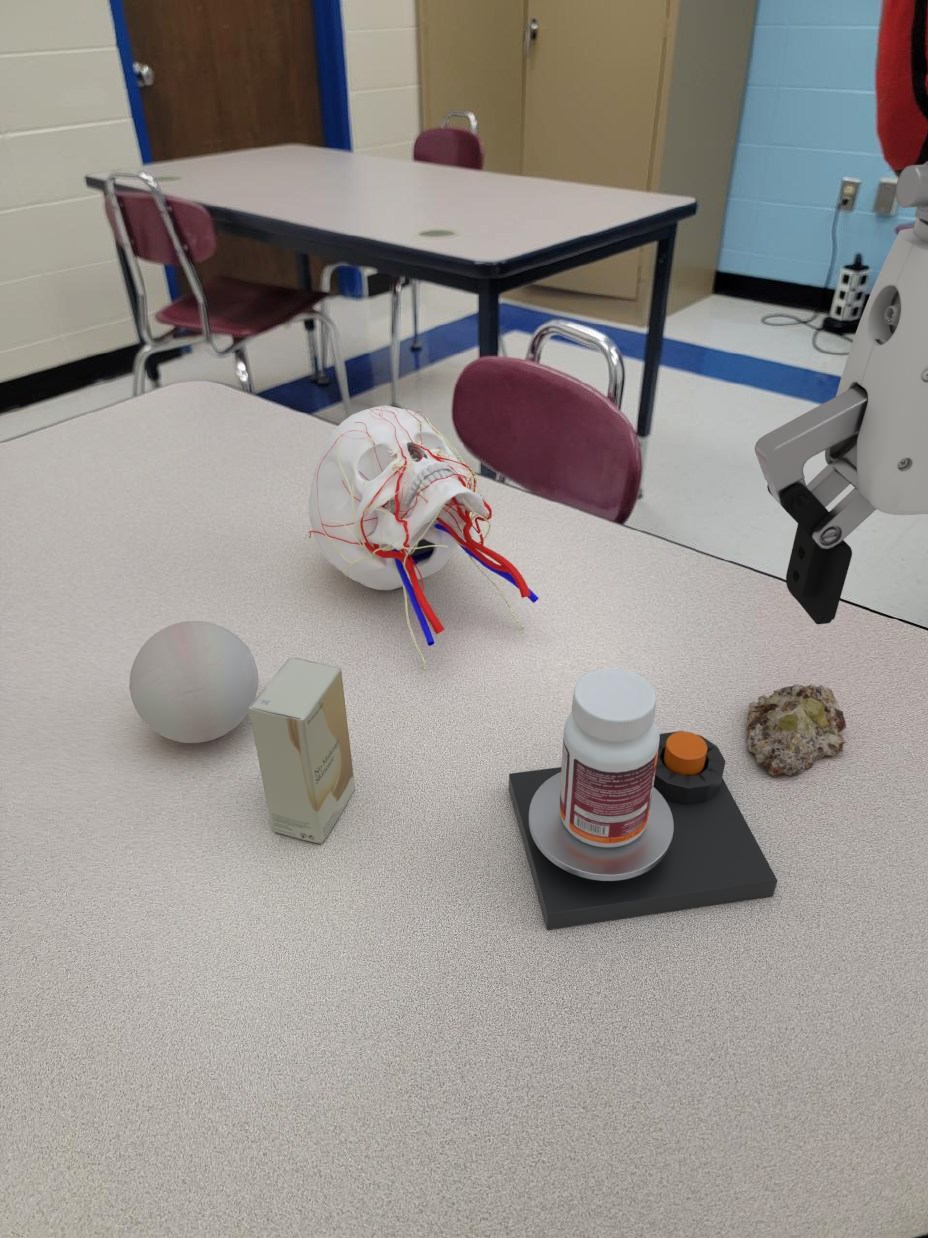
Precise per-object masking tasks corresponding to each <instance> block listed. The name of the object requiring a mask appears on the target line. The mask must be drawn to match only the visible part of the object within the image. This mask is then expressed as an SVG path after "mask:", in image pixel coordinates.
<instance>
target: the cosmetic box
mask: <svg viewBox="0 0 928 1238" xmlns="http://www.w3.org/2000/svg"><path fill="white" fill-rule="evenodd" d="M248 714H249V718H250V722H251V728H252V733H253V739H254V743H255V748H256V754H257V759H258V764H259V769H260V775H261V779H262V785H263V790H264V796H265V802H266V806H267V813H268V817H269V821H270V827H271V831H272V832H274V833H278V834H282V835H285V836H289V837H291V838H294V839H299V840H303V841H307V842H311V843H316V844H320V845H321V844H322V843H324V841H325V840H326V838H327V837H328V835H329V834H330V833H331V831H332V829H333V827H334V826H335V824H336V823H337V821H338V820H339V818H340V816H341V814H342V813H343V811H344V810H345V808H346V805H348V803H349V801H350V798H351V797H352V795H353V793H354V791H355V789H356V785H355V784H356V783H355V776H354V769H353V759H352V751H351V750H352V749H351V742H350V733H349V725H348V717H347V707H346V698H345V690H344V682H343V672H342V668H341V667H339V666H334V665H330V664H325V663H323V662H322V663H321V662H317V661H314V660H313V661H312V660H309V659H303V658H300V657H295V656H290V657H288V659H287V660H286V661H285V662H284V663H283V664H282V666H281V667H280V668H279V669H278V671H277V672H276V673H275V674H274V676H272V678H270V680H269V681H268V682H267V683H266V685H265V686H264V687H263V689H262V690H261V692H260V693H259V694H257V696H256V697H255V699H254V701H253V703H252V704H251V705H250V706H249V712H248Z"/></svg>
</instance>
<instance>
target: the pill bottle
mask: <svg viewBox="0 0 928 1238" xmlns="http://www.w3.org/2000/svg"><path fill="white" fill-rule="evenodd" d="M656 707H657V693H656V690H655V688H654V687H653V685H652V684H651V683H650V682H649V680H647V679H646V678H645V677H644V676H642V675H640V674H639V673H636V672H634V671H632V670H628V669H624V668H620V667H619V668H618V667H603V668H598V669H594V670H591V671H589V672H587V673H585V674H583V675H582V676H581V677H580V678H579V679H578V680H577V681H576V683H575V685H574V688H573V696H572V704H571V712H570V713H569V715H568V716H567V718H566V720H565V723H564V727H563V737H562V751H561V752H562V753H561V756H562V757H561V767H562V769H561V786H560V816H561V819H562V821H563V823H564V825H565V827H566V828H567V830H568V831H569V832H570V833H571V834H572V835H573V836H574V837H576V838H577V839H579V840H580V841H582V842H584V843H587V844H590V845H593V846H597V847H618V846H623V845H626V844H628V843H630V842H632V841H634V840H635V839H637V838H638V837H639V836H640V835H641V834H642V833H643V832H644V830H645V828H646V826H647V823H648V818H649V813H650V806H651V799H652V793H653V785H654V779H655V771H656V764H657V756H658V749H659V741H660V730H659V729H660V728H659V726H658V724H657V722H656V720H655V719H656V718H655V717H656Z"/></svg>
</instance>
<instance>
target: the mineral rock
mask: <svg viewBox="0 0 928 1238" xmlns="http://www.w3.org/2000/svg"><path fill="white" fill-rule="evenodd" d="M757 700H758V701H757V702H756V701H751V702H749V704H748V709H749V710H748V714H747V715H748V717H747V721H746V729H745V731H746V733H747V736H748V737H747V739H746V741H745V743H746V747H747V749H748V752H751V753H753V754H755V759H756V763H757V764H758V765H759V766H763V767H766V769H767V773H768V775H769V776H777V775H781V774H785V775H786V776H790V777H791V776H797V775H800V774H802V773H803V772H804V771H807V770H810V769H811V768H812V767H813V766H814V764H815V762H817V760H820V759H822V758H824V757H825V756H828V757H835V756H836V755H838V754H839V753H841V752H843V747H844V745H845V744H847V741H846V740H845V739H844V737H843V736H844V734H843V732H844V731H845V729H846V728H847V722H846V719H845V717H844V711H842V710H841V708H840V705H839V702H838V700H837V699H836V696H835V694H834V692H833V690H832V689H831V688H830V687H827V686H824V685H823V684H820V685H815V684H809V685H801V684H799V683H798V684H797V683H795V684H793V685H790V686H785V687H781V688H779V689H776V690H773V692H772V694H770V695H769V696H766V695H765V694H762V695H760V696H758V697H757Z"/></svg>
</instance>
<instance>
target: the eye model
mask: <svg viewBox="0 0 928 1238" xmlns="http://www.w3.org/2000/svg"><path fill="white" fill-rule="evenodd" d="M258 689H259V672H258V666H257V663H256V660H255V657H254V655H253V653H252V650H251V649H250V648H249V646H248V645H247V644H246V643H245V642H244V641H243V640H242V639H241V638H240V637H239V636H237V635H236V634H235V633H234V632H233V631H231V630H230V629H228V628H226V627H224V626H222V625H220V624H218V623H214V622H211V621H210V622H209V621H204V620H185V621H181V622H176V623H172V624H170V625H168V626H166V627H164V628H162V629H159V630H158V631H157V632H156V633H154V634H153V635H152V636H151V637H149V638H148V640H146V642H144V644H143V645H142V646H141V647H140V649H139V650H138V652H137V654H136V656H135V658H134V660H133V663H132V666H131V669H130V673H129V692H130V698H131V701H132V704H133V706H134V709H135V711H136V712H137V715H138V716H139V717H140V719H141V720H142V721H143V723H145V724H146V725H147V726H148V727H149V728H150V729H152V730H153V731H154V732H155V733H157V734H158V735H160V736H161V737H164V738H165V739H169V740H171V741H175V742H179V743H184V744H199V743H200V744H201V743H206V742H209V741H213V740H216V739H219V738H221V737H223V736H225V735H227V734H228V733H230V732H231V731H233V730H234V729H235V728H236V727H238V725H240V723H242V721H244V719H245V718H246V717H247V715H248V714H249V706H250V705H251V704H252V703H253V701H254V700H255V699H256V697H257V693H258Z"/></svg>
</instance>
